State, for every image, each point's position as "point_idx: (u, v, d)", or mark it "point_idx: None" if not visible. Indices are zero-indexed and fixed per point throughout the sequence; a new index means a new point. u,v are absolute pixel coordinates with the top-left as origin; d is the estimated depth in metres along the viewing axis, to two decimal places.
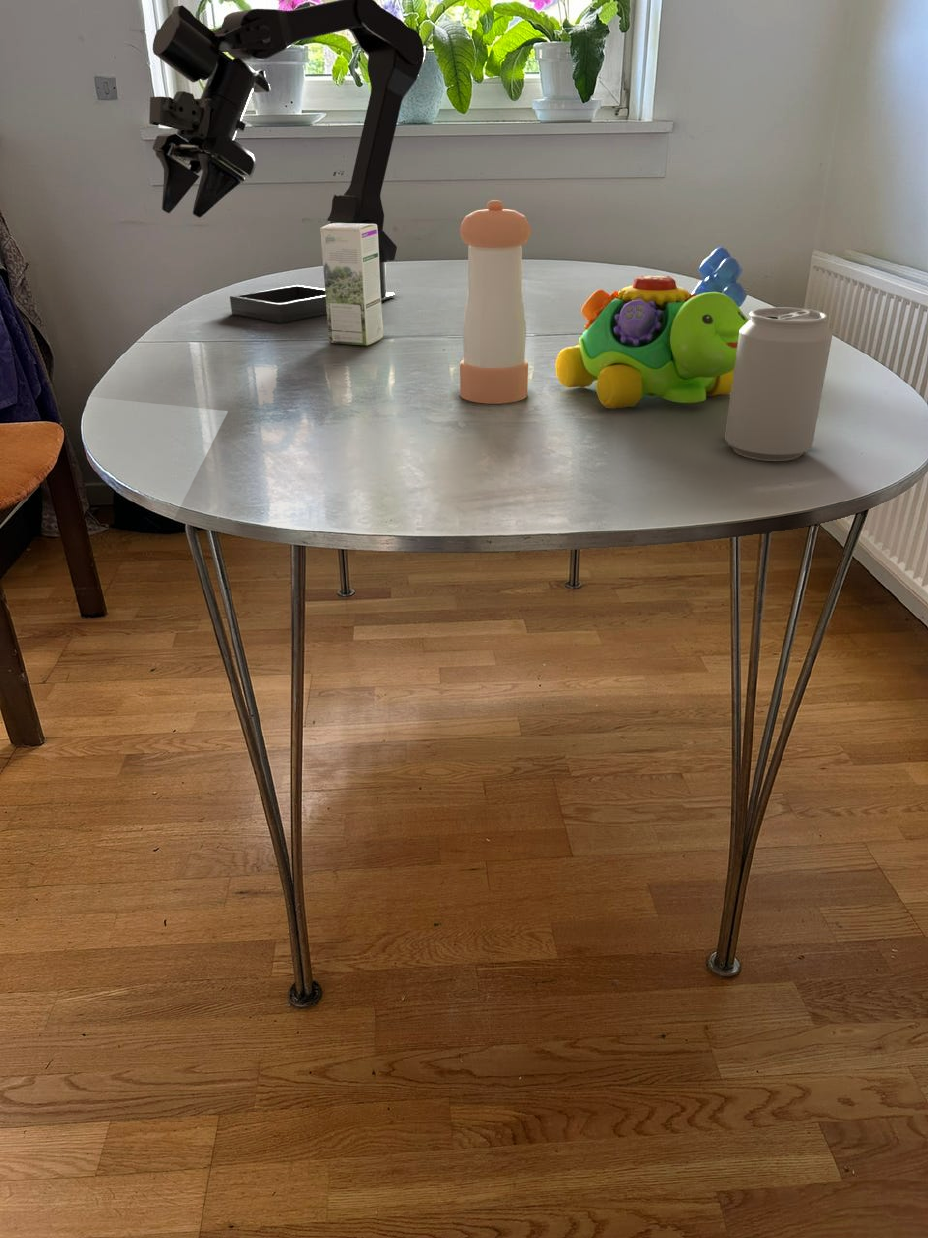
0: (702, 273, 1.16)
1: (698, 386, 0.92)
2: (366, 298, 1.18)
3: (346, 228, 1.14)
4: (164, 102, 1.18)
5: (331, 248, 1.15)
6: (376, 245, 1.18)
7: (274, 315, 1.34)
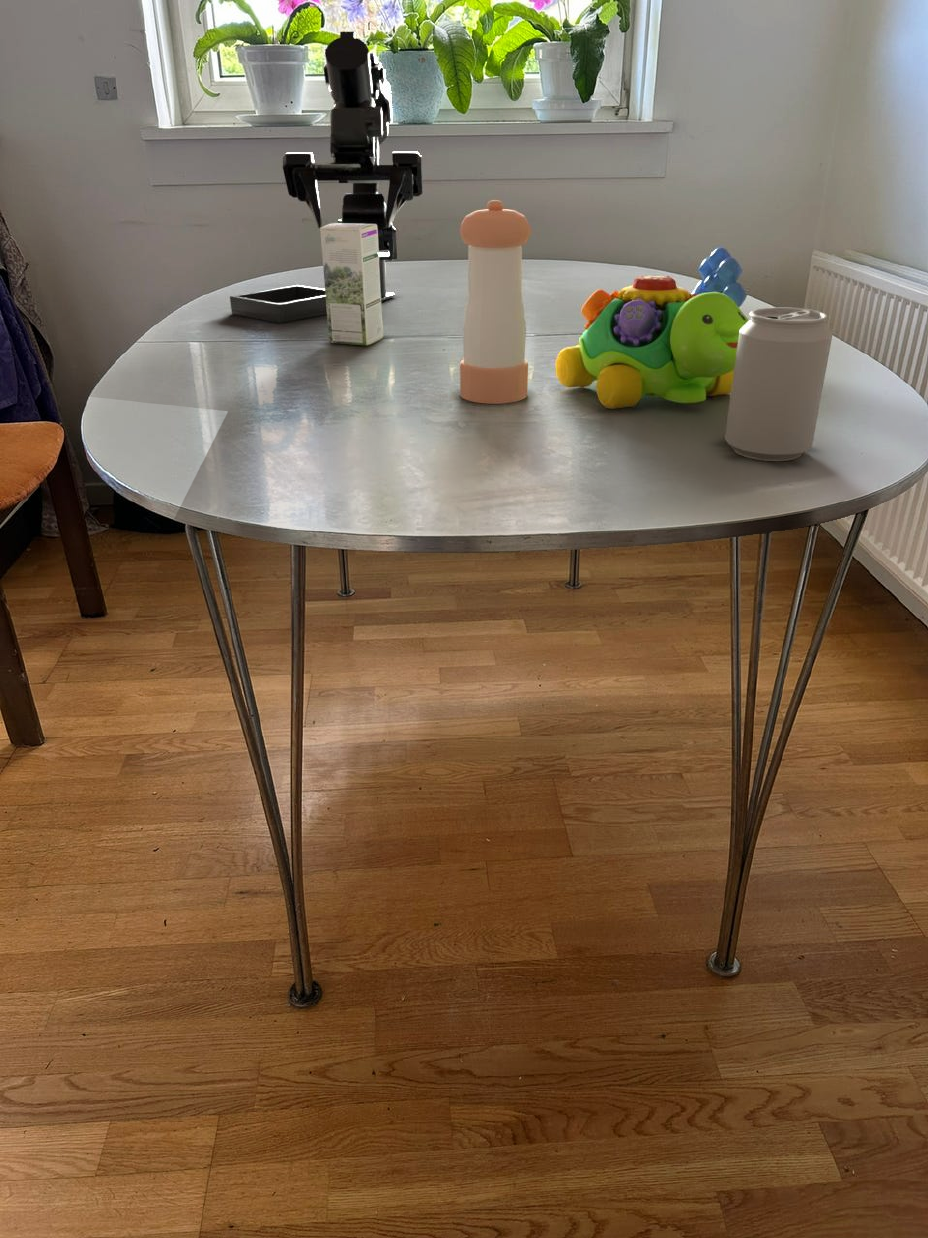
0: (702, 273, 1.16)
1: (698, 386, 0.92)
2: (366, 298, 1.18)
3: (346, 228, 1.14)
4: (364, 113, 1.19)
5: (331, 248, 1.15)
6: (376, 245, 1.18)
7: (274, 315, 1.34)
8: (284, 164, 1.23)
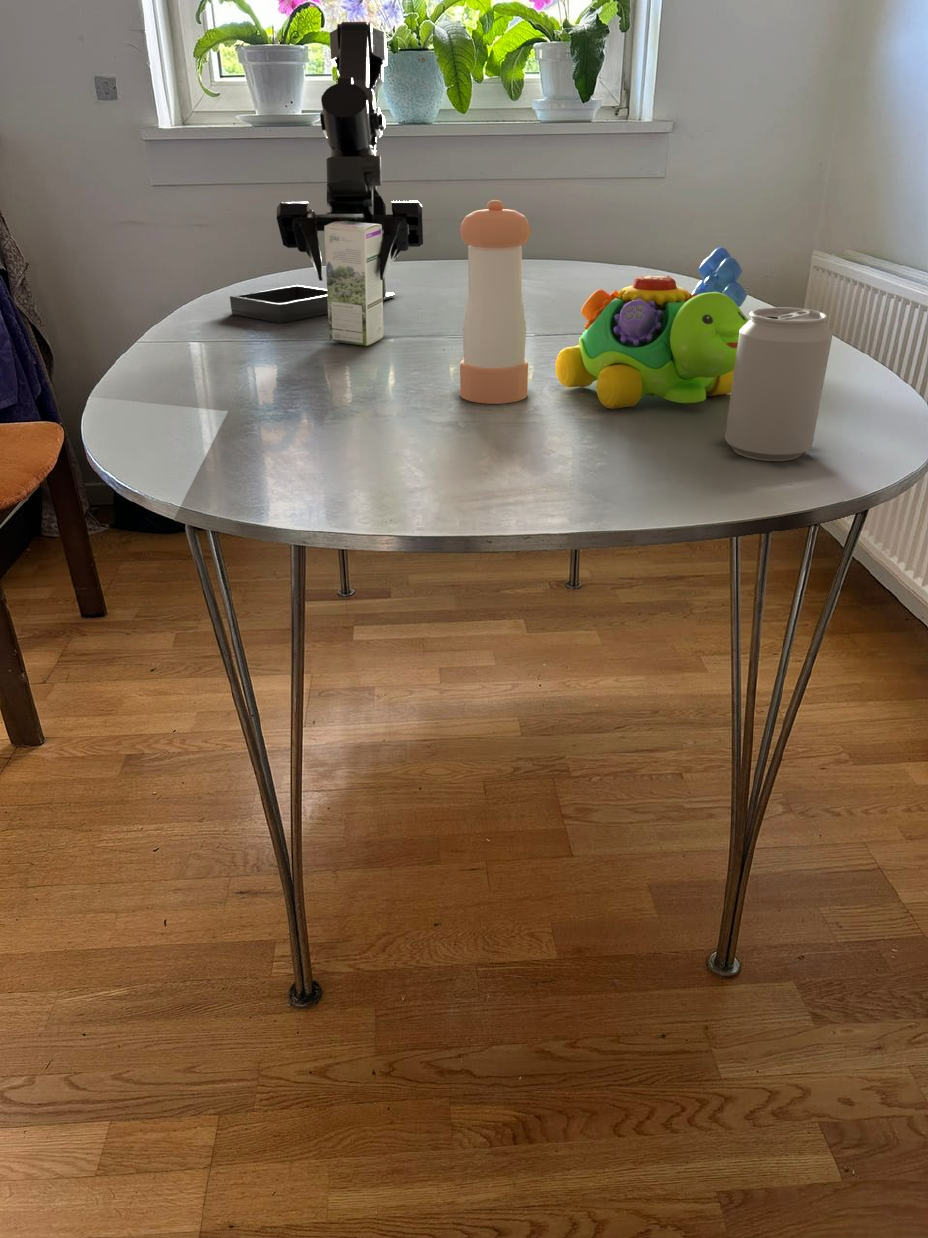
0: (702, 273, 1.16)
1: (698, 386, 0.92)
2: (368, 298, 1.17)
3: (350, 228, 1.13)
4: (362, 162, 1.13)
5: (335, 247, 1.15)
6: (380, 245, 1.18)
7: (274, 315, 1.34)
8: (278, 214, 1.17)
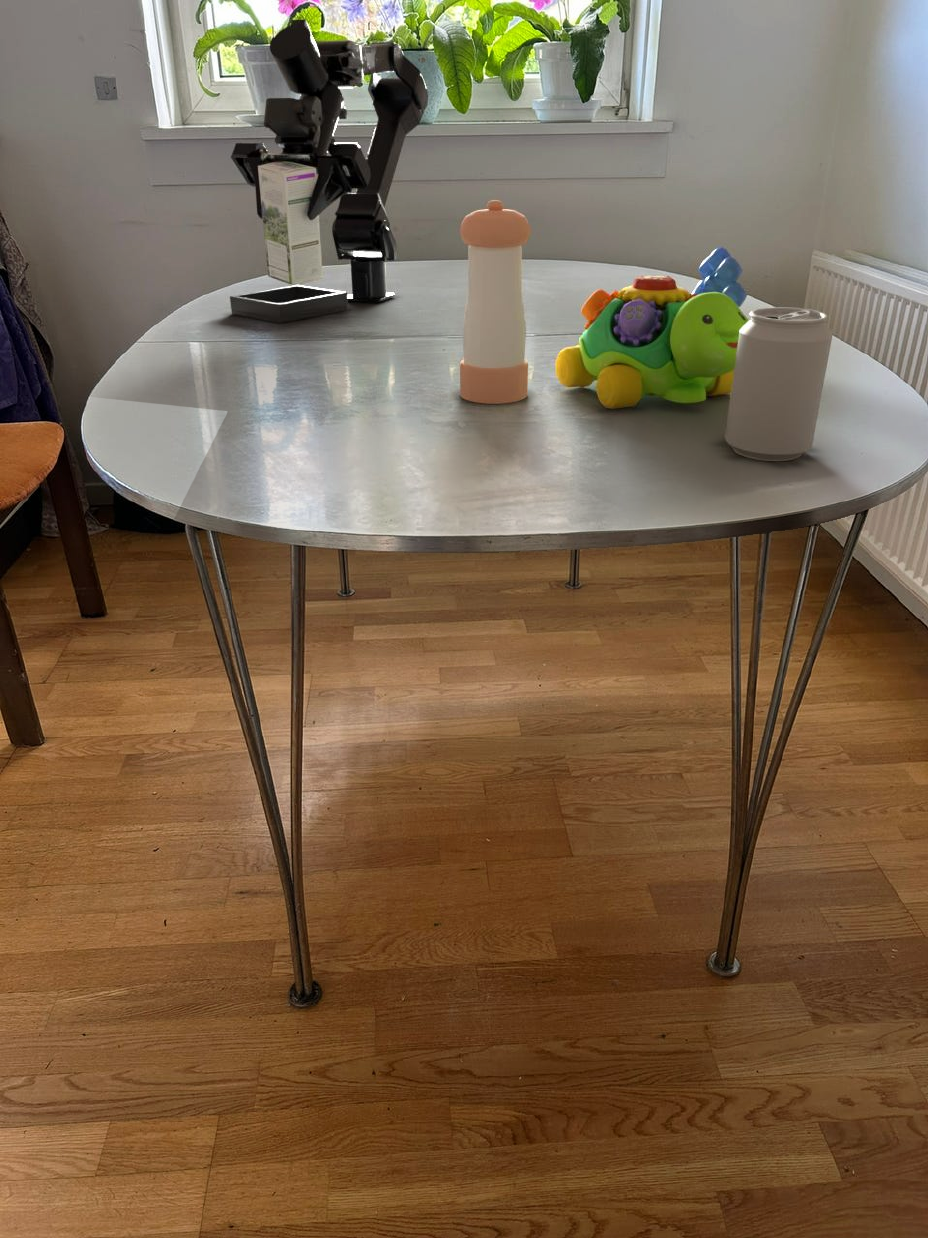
0: (702, 273, 1.16)
1: (698, 386, 0.92)
2: (293, 239, 1.23)
3: (276, 170, 1.19)
4: (294, 103, 1.17)
5: (265, 187, 1.21)
6: (313, 188, 1.22)
7: (274, 315, 1.34)
8: (232, 154, 1.25)
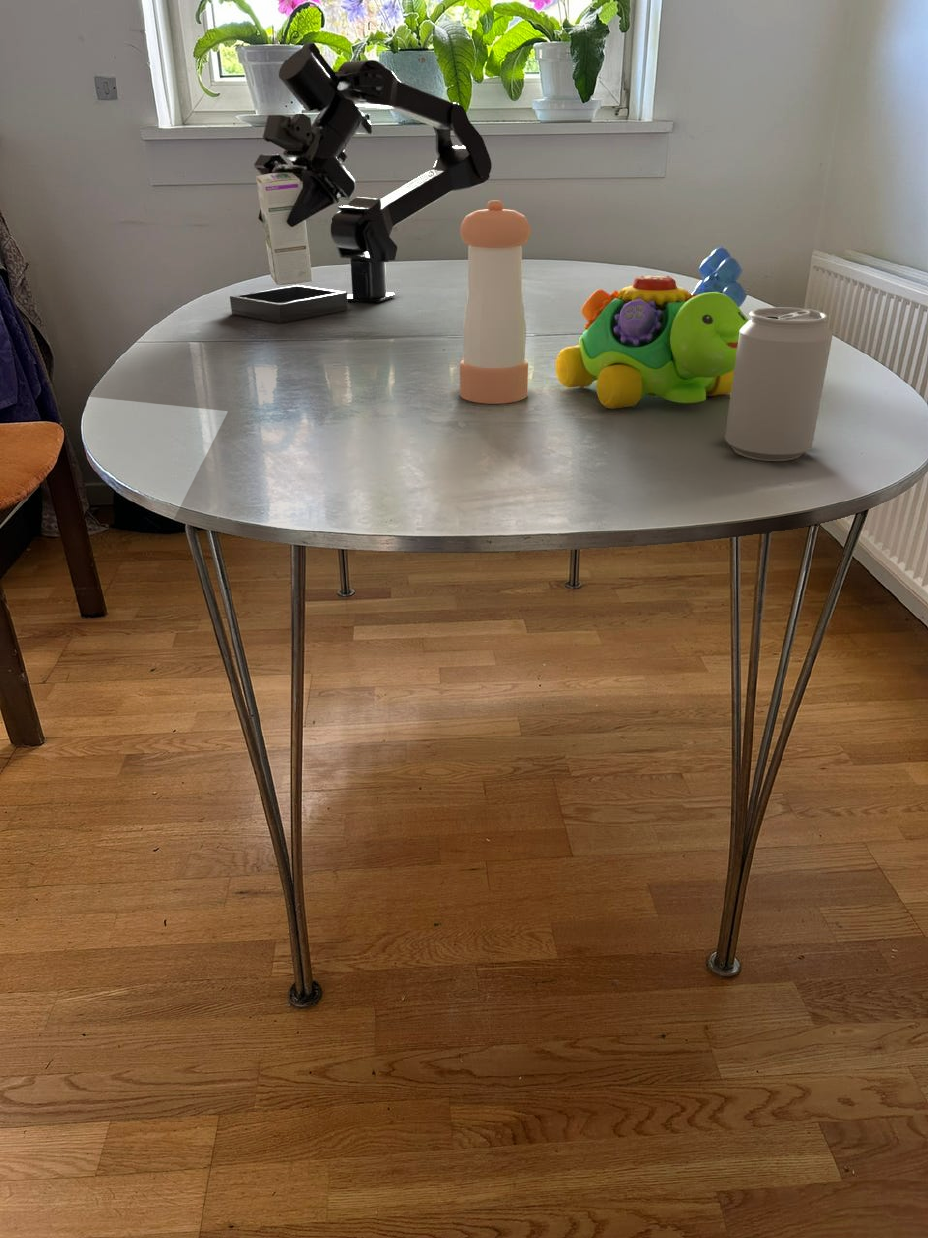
0: (702, 273, 1.16)
1: (698, 386, 0.92)
2: (275, 243, 1.34)
3: (263, 180, 1.31)
4: (283, 120, 1.28)
5: (259, 195, 1.34)
6: None
7: (274, 315, 1.34)
8: None
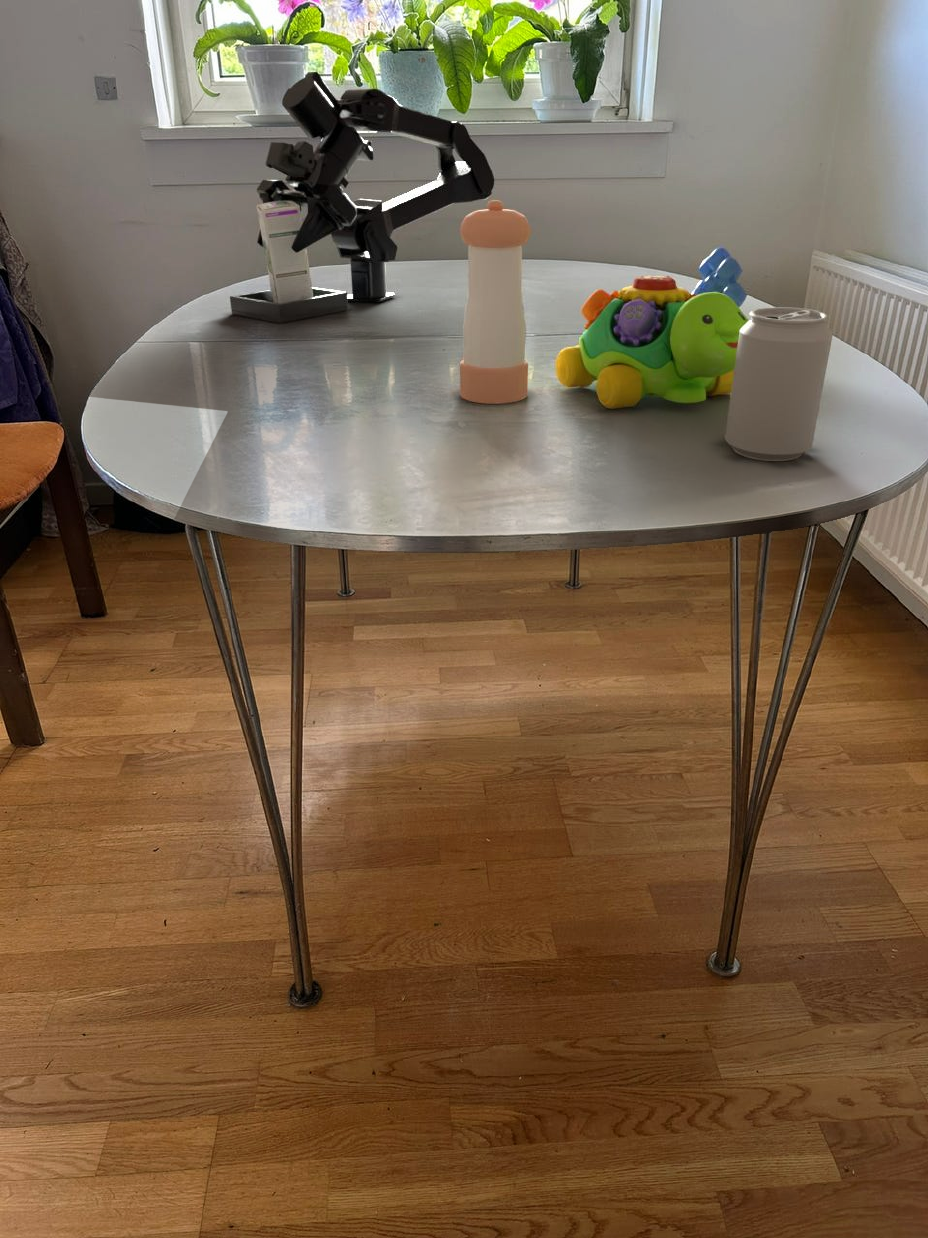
0: (702, 273, 1.16)
1: (698, 386, 0.92)
2: (277, 269, 1.36)
3: (263, 207, 1.33)
4: (285, 148, 1.30)
5: (260, 223, 1.36)
6: (297, 223, 1.34)
7: (274, 315, 1.34)
8: None
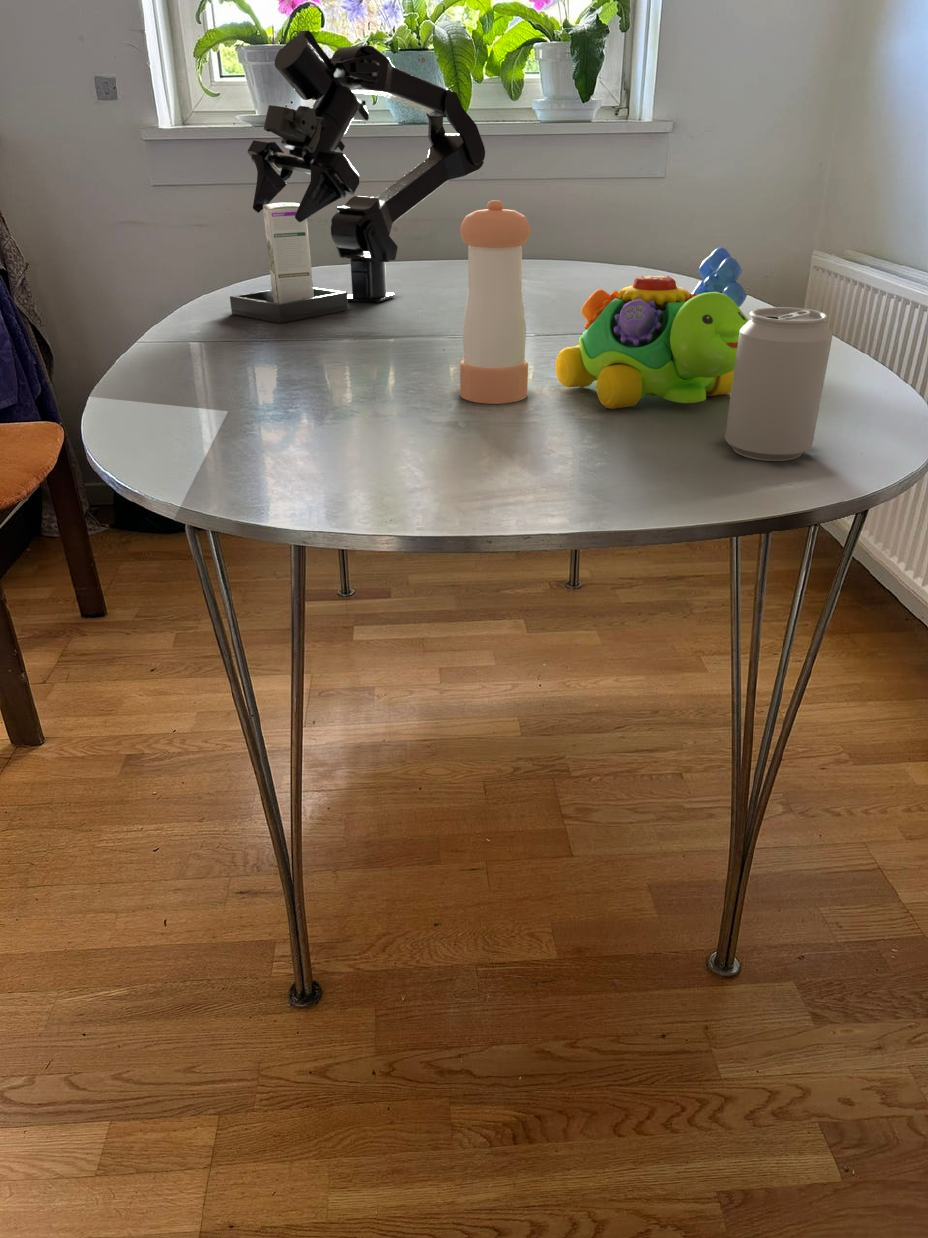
0: (702, 273, 1.16)
1: (698, 386, 0.92)
2: (279, 269, 1.37)
3: (269, 207, 1.34)
4: (287, 113, 1.26)
5: (265, 223, 1.37)
6: (302, 225, 1.35)
7: (274, 315, 1.34)
8: (248, 150, 1.37)
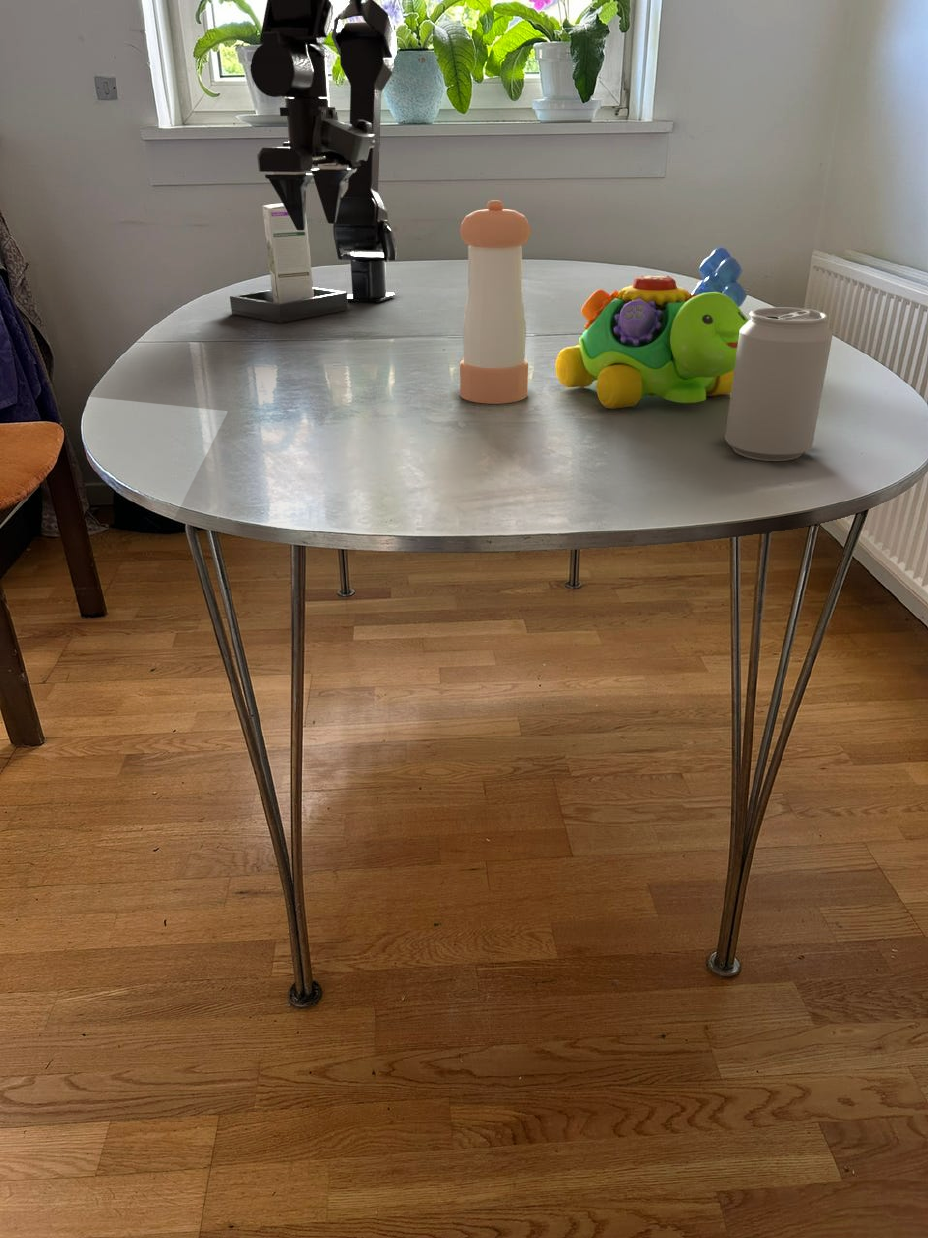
0: (702, 273, 1.16)
1: (698, 386, 0.92)
2: (279, 268, 1.37)
3: (269, 207, 1.34)
4: None
5: (265, 223, 1.37)
6: None
7: (274, 315, 1.34)
8: (297, 169, 1.16)
